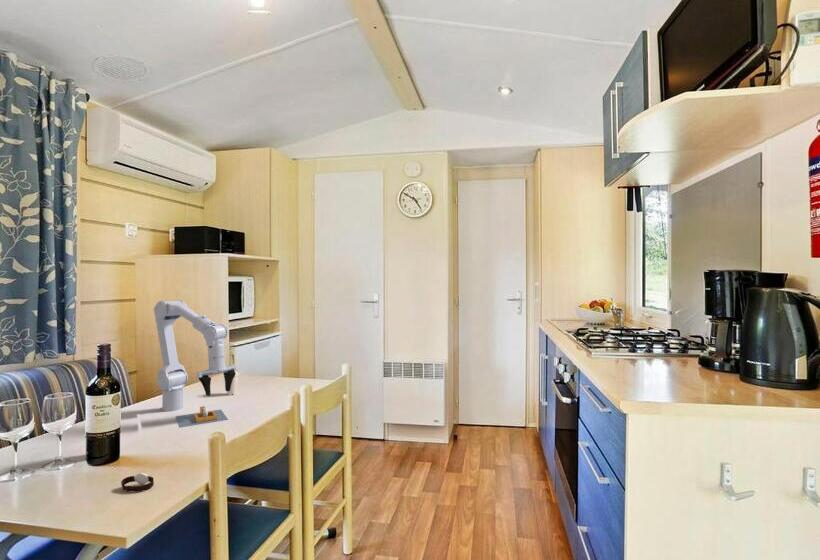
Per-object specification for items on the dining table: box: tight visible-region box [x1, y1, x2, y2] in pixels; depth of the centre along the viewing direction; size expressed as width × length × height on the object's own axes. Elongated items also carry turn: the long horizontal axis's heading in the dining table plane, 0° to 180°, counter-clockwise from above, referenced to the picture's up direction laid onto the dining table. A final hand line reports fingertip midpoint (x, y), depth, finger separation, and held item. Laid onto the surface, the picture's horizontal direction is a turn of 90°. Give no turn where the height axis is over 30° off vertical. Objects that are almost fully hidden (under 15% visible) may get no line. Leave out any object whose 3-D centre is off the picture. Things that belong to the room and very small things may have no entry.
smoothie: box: [226, 363, 240, 396], centre depth 200 cm, size 6×6×14 cm
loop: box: [193, 405, 217, 423], centre depth 163 cm, size 12×7×2 cm, turn 33°
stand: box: [175, 406, 229, 429], centre depth 162 cm, size 15×16×5 cm
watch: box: [120, 472, 155, 492], centre depth 109 cm, size 8×5×4 cm, turn 89°
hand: (218, 393), depth 165 cm, fingers open, 7 cm apart
